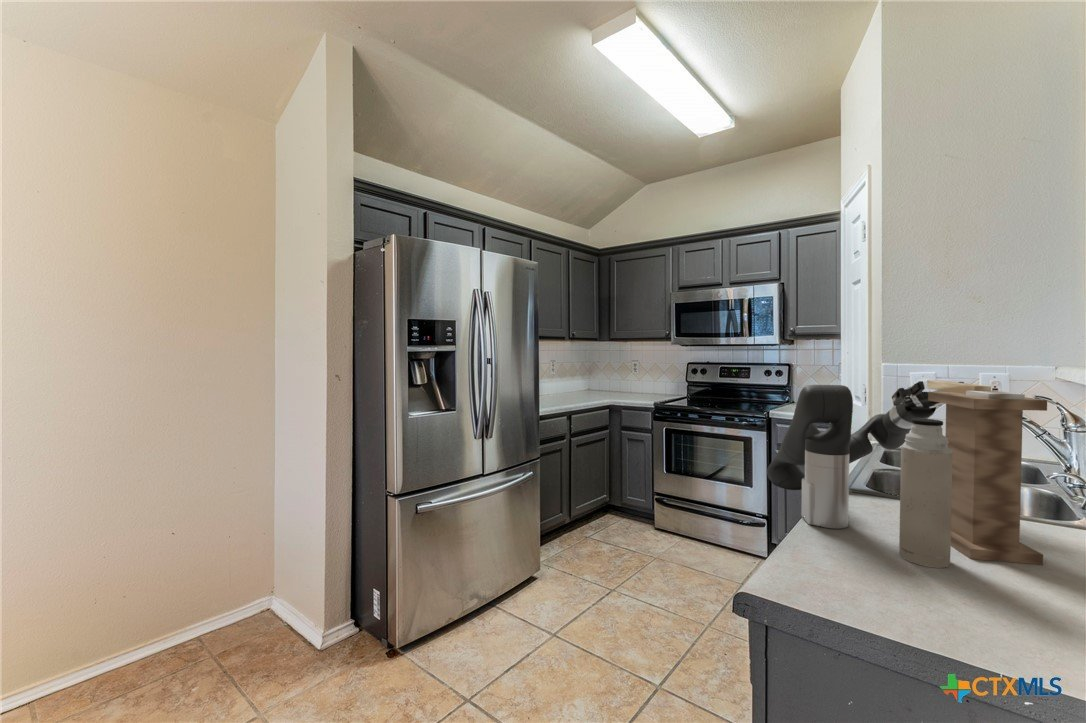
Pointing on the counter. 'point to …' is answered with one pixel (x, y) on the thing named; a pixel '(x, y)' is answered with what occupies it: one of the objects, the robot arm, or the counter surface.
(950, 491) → the thermos bottle
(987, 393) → the paddle
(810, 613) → the counter surface
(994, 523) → the stand
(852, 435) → the robot arm
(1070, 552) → the counter surface
